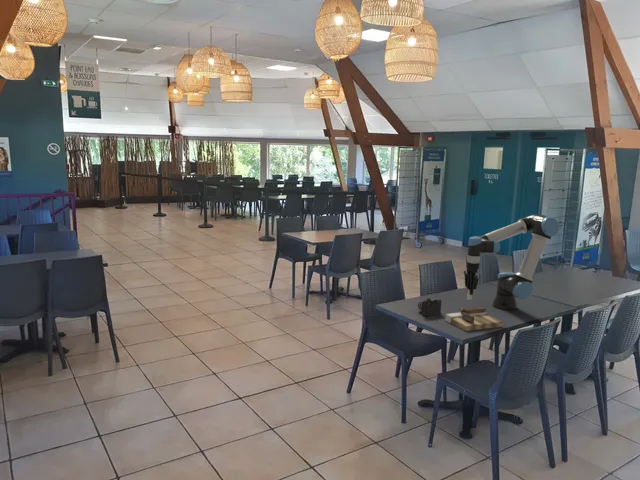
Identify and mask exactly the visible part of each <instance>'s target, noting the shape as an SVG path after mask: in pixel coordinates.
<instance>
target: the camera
mask: <svg viewBox="0 0 640 480" xmlns="http://www.w3.org/2000/svg"><path fill="white" fill-rule="evenodd" d="M417 308H418V310H419V311H421V316H423V317H428V316H435V315H440V314H441V312H442V299H441V298H437V297H436V299H434V298H430V297H428V298H426V299H424V300H421V301H420V302H418V304H417Z"/></svg>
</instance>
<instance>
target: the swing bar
mask: <svg viewBox="0 0 640 480" xmlns="http://www.w3.org/2000/svg"><path fill="white" fill-rule="evenodd" d="M459 311H460V312H461V311H464V313H467V314H468V313H477V312H486V313H487V307H484V306H479V307H470V308H465V307H459Z"/></svg>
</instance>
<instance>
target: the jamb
mask: <svg viewBox="0 0 640 480" xmlns="http://www.w3.org/2000/svg"><path fill="white" fill-rule="evenodd" d="M463 313H464V311H460V312H452V313H451V312H450V313H446V314H445V321H446V322H448V323H449V324H451V318H458V317H462V315H463ZM468 314H469V315H471V316H475V315H484V314H487V311H486V312H477V313H468Z"/></svg>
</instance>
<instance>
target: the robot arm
mask: <svg viewBox="0 0 640 480" xmlns="http://www.w3.org/2000/svg"><path fill="white" fill-rule="evenodd" d="M559 230H560V224H559V221H558V220H557V219H556V218H555V217H553V216H549V215H544V214H538V213H537V214H535V213H534V214H530V215H527V216H524V217H521V218H520V219H518V220H517V221H516V222H514V223H511V224H508V225H507V226H504V227H501V228H498V229H496V230H493V231H490V232H488V233H486V234H483V235H480V236H477V235H475V236H470V237H469V239H468V243H467V244H468V245H467V246H468V247H467V255H466V261H467V262H466V266H465V267H466V270H464V271H463V274H464V287H465V288H466V300H467V301H468V300H471V301H472V300H473V295H474V290H476V289H477V287H478V284H479V279H480V278H481V275H479V273H478V270H479V269H480V261H481V254H483V253H484V254H497V253H499V252H500V250H501V244H500V242H501V241H504V240H506V239H509V238H511V237H514V236H517V235H521V234H526V233H531V236H532V238H531V239H530V242H529V244H528V248H527V250H526V251H525V255H524V257H523V259H522V262H521V264H520V267H519V268H518V271H517V272H509V271H508V272H507V271H505V272H504V271H503V272H499V273H498V275H497V281H496V282H497V284H496V285H497V286H496V294H495V297H494V300H492V307H494V308H496V309H500V310H507V311H513V310H516V309H517V307H518V304H517V299H516V298H518V299H519V300H525V299H527V298H529V297H530V296H531V295H532V294H533V292H534V287H533V286H534V285H533V281H534V280H533V278H532V277H533V276H534V273H535V270H536V268H537V265H538V263H539V260H540V258H541V256H542V254H543V251H544V249H545V247H546V244H547V242H549V241H551V238H552V237H554V236H556V235H557V234H558V232H559Z"/></svg>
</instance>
